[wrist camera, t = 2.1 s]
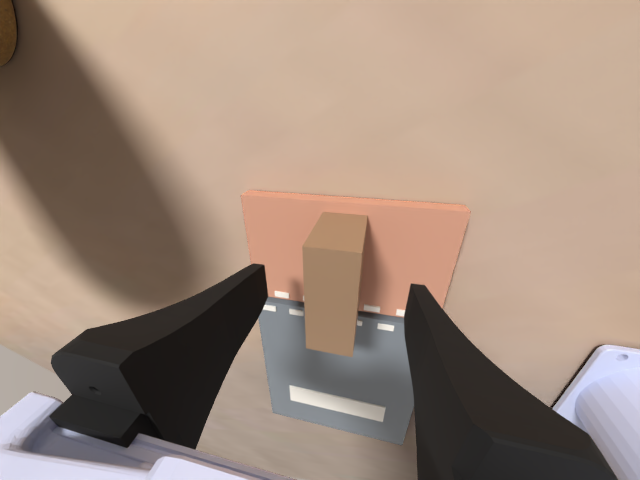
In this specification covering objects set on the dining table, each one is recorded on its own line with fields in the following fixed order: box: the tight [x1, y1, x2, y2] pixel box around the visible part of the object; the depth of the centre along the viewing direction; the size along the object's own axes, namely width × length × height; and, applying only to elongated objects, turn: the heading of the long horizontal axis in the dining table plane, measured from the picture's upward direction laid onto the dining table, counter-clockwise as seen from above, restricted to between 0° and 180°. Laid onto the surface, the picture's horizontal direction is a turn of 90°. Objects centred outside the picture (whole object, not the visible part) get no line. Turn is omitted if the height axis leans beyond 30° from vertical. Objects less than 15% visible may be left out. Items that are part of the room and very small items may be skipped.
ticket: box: [258, 297, 414, 445], centre depth 20 cm, size 12×14×1 cm
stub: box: [241, 190, 471, 357], centre depth 13 cm, size 12×7×5 cm, turn 89°
